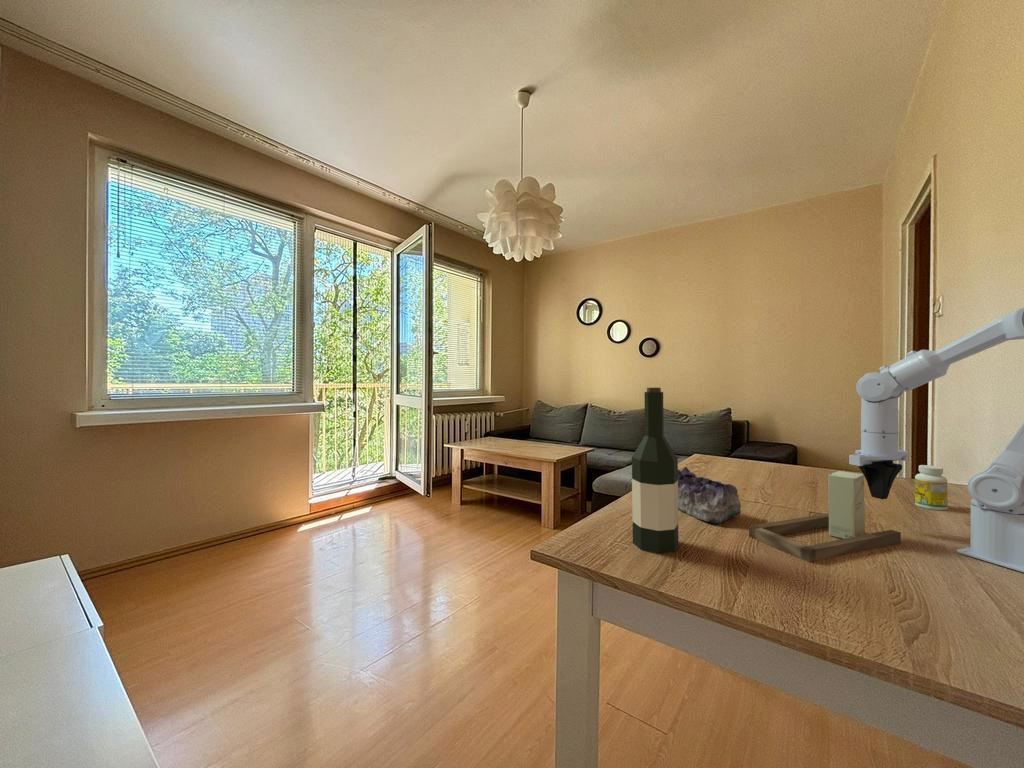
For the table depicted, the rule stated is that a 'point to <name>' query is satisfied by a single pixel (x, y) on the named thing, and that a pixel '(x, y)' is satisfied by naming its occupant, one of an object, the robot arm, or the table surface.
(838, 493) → the skincare box
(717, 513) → the geode
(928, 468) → the supplement bottle
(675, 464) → the wine bottle
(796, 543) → the cradle
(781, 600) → the table surface
